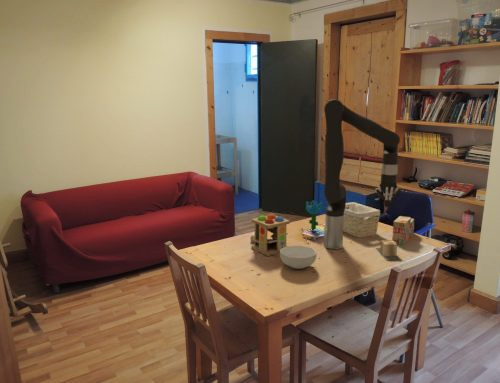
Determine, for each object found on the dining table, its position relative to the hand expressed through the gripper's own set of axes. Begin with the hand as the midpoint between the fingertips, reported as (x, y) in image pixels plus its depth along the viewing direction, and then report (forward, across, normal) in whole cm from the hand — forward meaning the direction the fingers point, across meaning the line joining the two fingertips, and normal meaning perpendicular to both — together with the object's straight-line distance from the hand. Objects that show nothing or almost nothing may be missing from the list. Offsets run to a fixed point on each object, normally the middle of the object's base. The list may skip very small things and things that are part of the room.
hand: (386, 207), depth 208 cm
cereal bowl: (+23, -46, -20) cm, 56 cm away
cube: (+19, 0, -4) cm, 20 cm away
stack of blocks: (+23, +16, +17) cm, 32 cm away
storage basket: (+23, -7, +30) cm, 39 cm away
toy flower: (+23, -32, +29) cm, 49 cm away
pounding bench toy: (+23, -60, +5) cm, 65 cm away
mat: (+22, 0, -7) cm, 23 cm away
